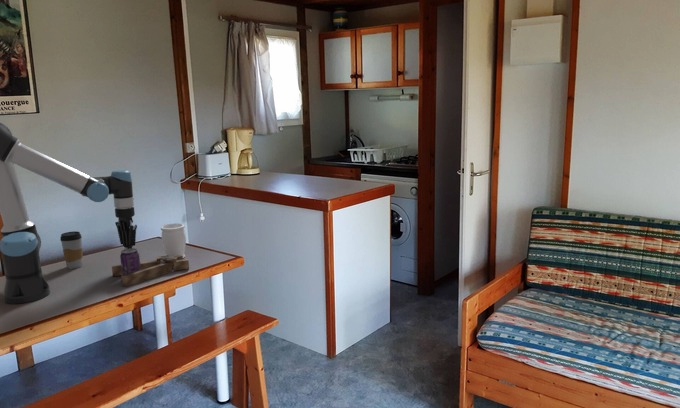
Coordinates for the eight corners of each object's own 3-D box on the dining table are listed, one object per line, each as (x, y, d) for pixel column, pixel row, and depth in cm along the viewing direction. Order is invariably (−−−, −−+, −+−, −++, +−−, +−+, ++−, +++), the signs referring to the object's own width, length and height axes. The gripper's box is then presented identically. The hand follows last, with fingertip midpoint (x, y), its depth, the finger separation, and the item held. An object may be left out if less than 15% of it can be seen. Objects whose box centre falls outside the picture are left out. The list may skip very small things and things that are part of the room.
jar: (186, 260, 235) (183, 227, 232) (162, 262, 233) (158, 229, 230) (188, 253, 245) (185, 222, 242) (165, 255, 244) (162, 223, 241)
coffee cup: (89, 263, 235) (85, 231, 232) (78, 269, 227) (73, 236, 224) (71, 263, 236) (67, 231, 232) (60, 269, 227) (55, 236, 224)
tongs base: (125, 287, 204) (124, 276, 203) (116, 284, 208) (115, 273, 207) (189, 265, 227) (188, 256, 226) (180, 263, 231) (179, 254, 230)
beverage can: (129, 275, 217) (126, 247, 215) (145, 276, 216) (142, 248, 213) (119, 281, 210) (115, 252, 208) (135, 282, 209) (132, 253, 206)
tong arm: (112, 279, 212) (111, 267, 211) (113, 274, 218) (111, 262, 217) (189, 268, 223) (188, 257, 222) (187, 264, 229) (186, 252, 228)
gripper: (141, 207, 219) (146, 261, 224) (124, 204, 227) (129, 256, 232) (124, 210, 214) (129, 266, 218) (107, 206, 221) (113, 260, 226)
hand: (129, 261), depth 225 cm, fingers closed
